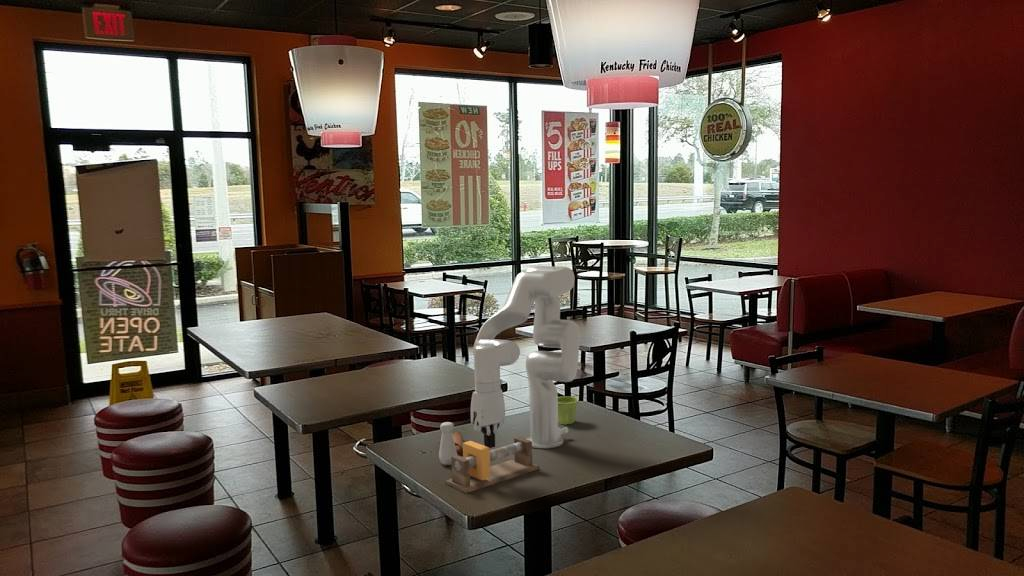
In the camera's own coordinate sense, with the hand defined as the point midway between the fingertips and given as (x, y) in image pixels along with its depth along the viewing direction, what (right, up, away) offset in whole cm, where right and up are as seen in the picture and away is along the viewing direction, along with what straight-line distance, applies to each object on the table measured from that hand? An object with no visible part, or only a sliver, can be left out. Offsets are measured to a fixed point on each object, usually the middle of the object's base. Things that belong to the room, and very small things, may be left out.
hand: (489, 446), depth 221 cm
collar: (-4, -8, -3) cm, 9 cm away
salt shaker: (-13, -8, +14) cm, 21 cm away
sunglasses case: (-14, -7, +28) cm, 32 cm away
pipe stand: (+1, -9, +2) cm, 9 cm away
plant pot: (+27, -3, +55) cm, 61 cm away
